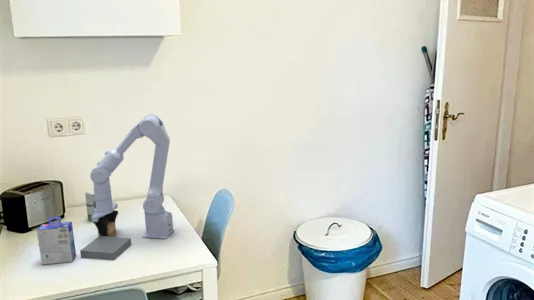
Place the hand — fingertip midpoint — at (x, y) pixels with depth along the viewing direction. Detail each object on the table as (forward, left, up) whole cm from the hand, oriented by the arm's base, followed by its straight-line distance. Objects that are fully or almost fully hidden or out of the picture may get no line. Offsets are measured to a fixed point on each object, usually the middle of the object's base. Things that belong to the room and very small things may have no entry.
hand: (107, 233), depth 171 cm
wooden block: (0, 0, -1) cm, 1 cm away
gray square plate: (-6, +11, -2) cm, 13 cm away
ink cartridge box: (+6, +19, -2) cm, 21 cm away
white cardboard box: (+13, -17, -2) cm, 21 cm away
